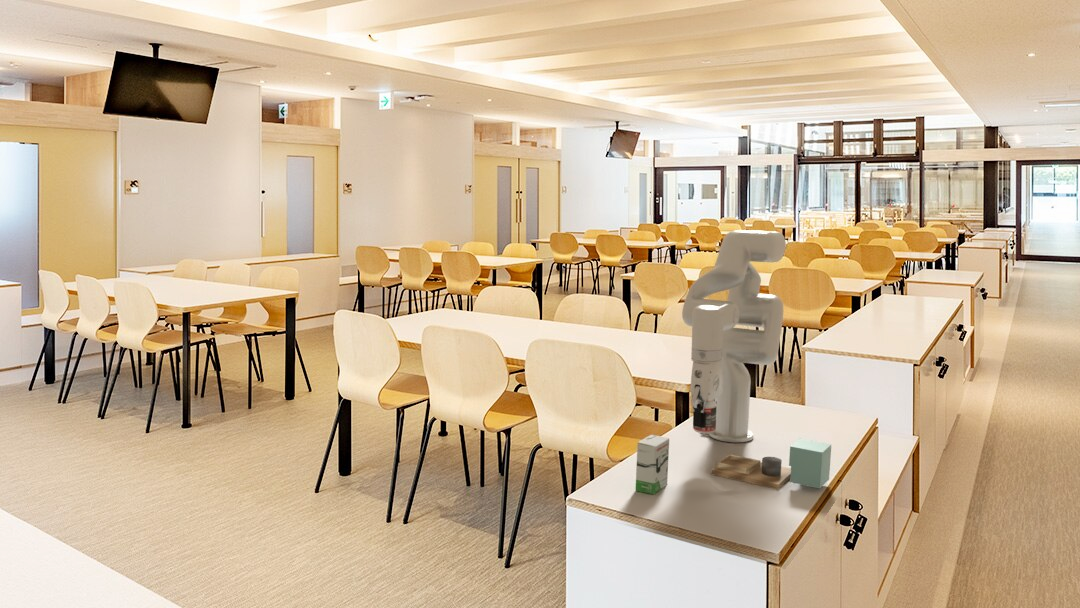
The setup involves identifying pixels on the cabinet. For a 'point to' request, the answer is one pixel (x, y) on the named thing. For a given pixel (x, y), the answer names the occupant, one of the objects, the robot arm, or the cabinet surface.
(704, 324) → the robot arm
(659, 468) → the ink box
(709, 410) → the pill bottle
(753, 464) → the board
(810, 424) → the cabinet surface
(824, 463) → the mint green block
